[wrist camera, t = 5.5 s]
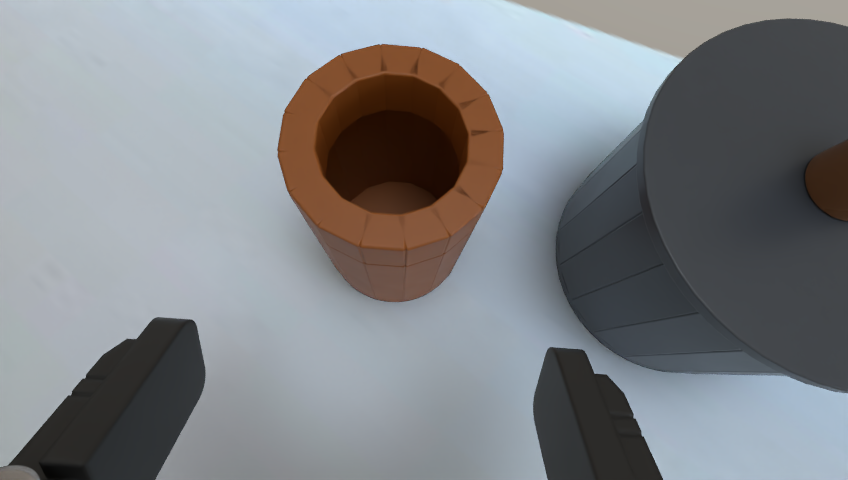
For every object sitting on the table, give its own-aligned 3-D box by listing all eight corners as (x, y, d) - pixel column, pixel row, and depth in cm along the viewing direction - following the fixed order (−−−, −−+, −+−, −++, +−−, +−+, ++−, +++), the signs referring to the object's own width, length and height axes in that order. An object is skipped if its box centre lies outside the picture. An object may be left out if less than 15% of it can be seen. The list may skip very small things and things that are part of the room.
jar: (323, 297, 22) (261, 240, 12) (338, 173, 23) (294, 35, 14) (456, 307, 22) (501, 258, 12) (462, 183, 23) (506, 53, 14)
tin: (556, 364, 21) (664, 362, 13) (554, 150, 24) (642, 27, 15) (784, 380, 22) (1044, 389, 13) (757, 167, 24) (954, 56, 16)
